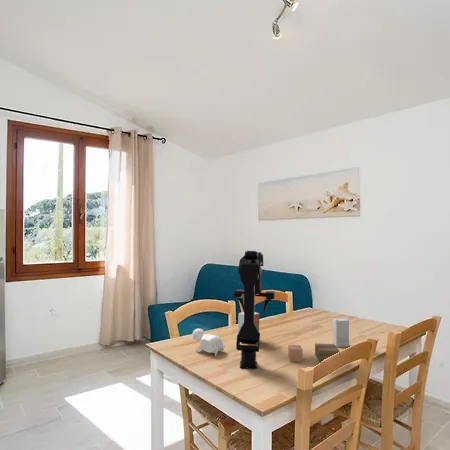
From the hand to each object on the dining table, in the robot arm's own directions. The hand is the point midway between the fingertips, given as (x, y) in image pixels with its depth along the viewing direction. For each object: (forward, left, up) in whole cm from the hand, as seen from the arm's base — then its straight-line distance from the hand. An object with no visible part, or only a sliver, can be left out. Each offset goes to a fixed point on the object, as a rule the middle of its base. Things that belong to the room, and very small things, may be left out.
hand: (254, 312), depth 156 cm
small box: (+4, +2, -14) cm, 15 cm away
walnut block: (-15, -30, -14) cm, 36 cm away
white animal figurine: (-11, +20, -14) cm, 27 cm away
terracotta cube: (-17, -17, -14) cm, 28 cm away
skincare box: (+1, -40, -14) cm, 42 cm away
